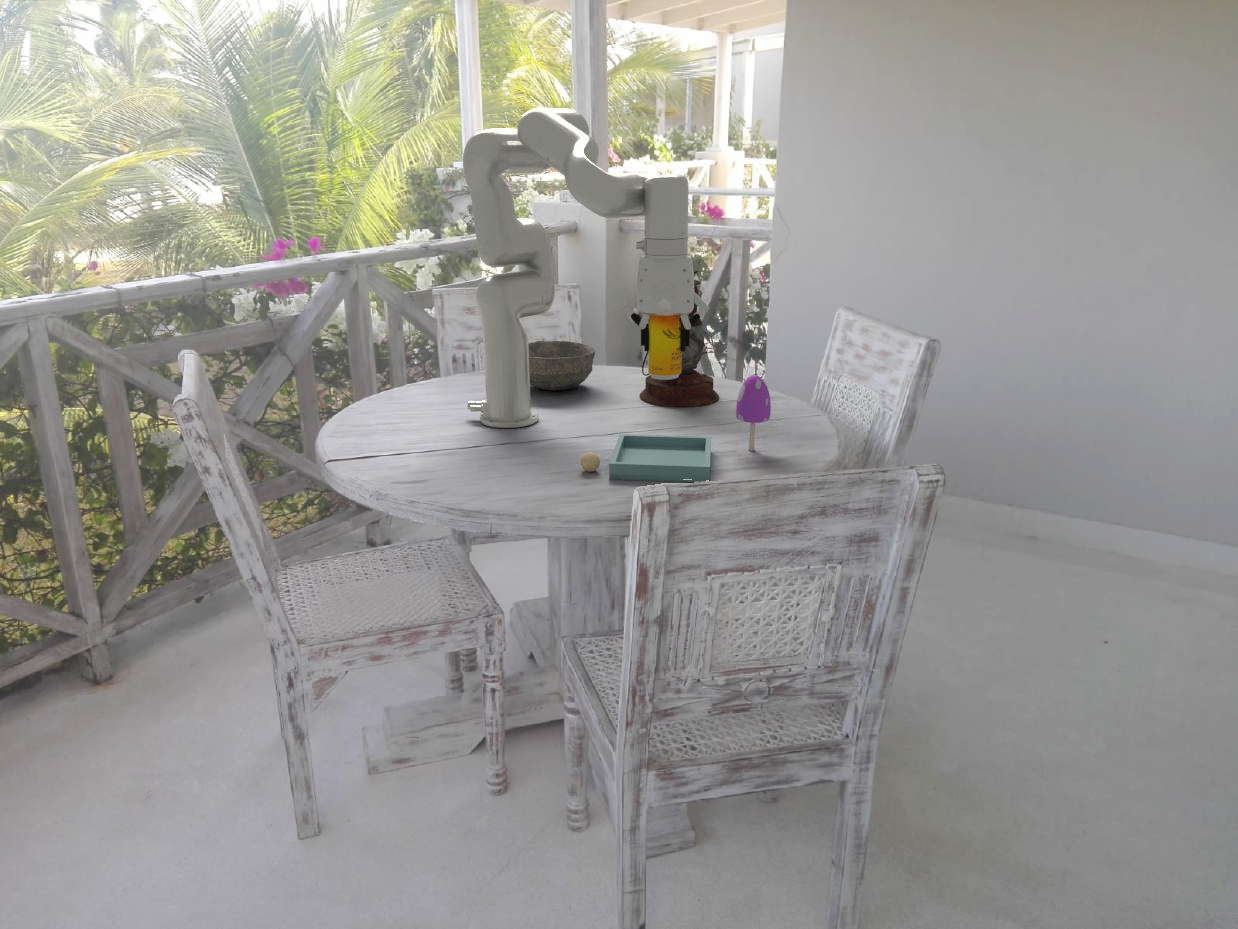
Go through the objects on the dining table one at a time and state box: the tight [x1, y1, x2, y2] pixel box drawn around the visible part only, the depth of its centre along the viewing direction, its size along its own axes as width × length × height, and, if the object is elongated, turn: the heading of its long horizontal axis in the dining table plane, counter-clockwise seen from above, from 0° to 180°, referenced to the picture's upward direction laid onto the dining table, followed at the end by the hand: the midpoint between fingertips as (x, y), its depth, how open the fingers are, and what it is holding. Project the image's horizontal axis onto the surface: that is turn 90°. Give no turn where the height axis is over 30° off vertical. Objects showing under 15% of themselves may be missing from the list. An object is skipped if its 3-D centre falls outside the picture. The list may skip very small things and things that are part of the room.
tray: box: [608, 433, 712, 483], centre depth 177 cm, size 18×18×3 cm
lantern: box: [639, 270, 720, 409], centre depth 220 cm, size 19×19×30 cm
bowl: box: [528, 340, 596, 391], centre depth 231 cm, size 21×21×10 cm
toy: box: [735, 374, 772, 452], centre depth 184 cm, size 7×7×15 cm
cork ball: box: [580, 451, 601, 473], centre depth 174 cm, size 4×4×4 cm
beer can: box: [647, 299, 682, 380], centre depth 169 cm, size 6×6×15 cm
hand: (665, 349), depth 170 cm, fingers closed on beer can, 6 cm apart
